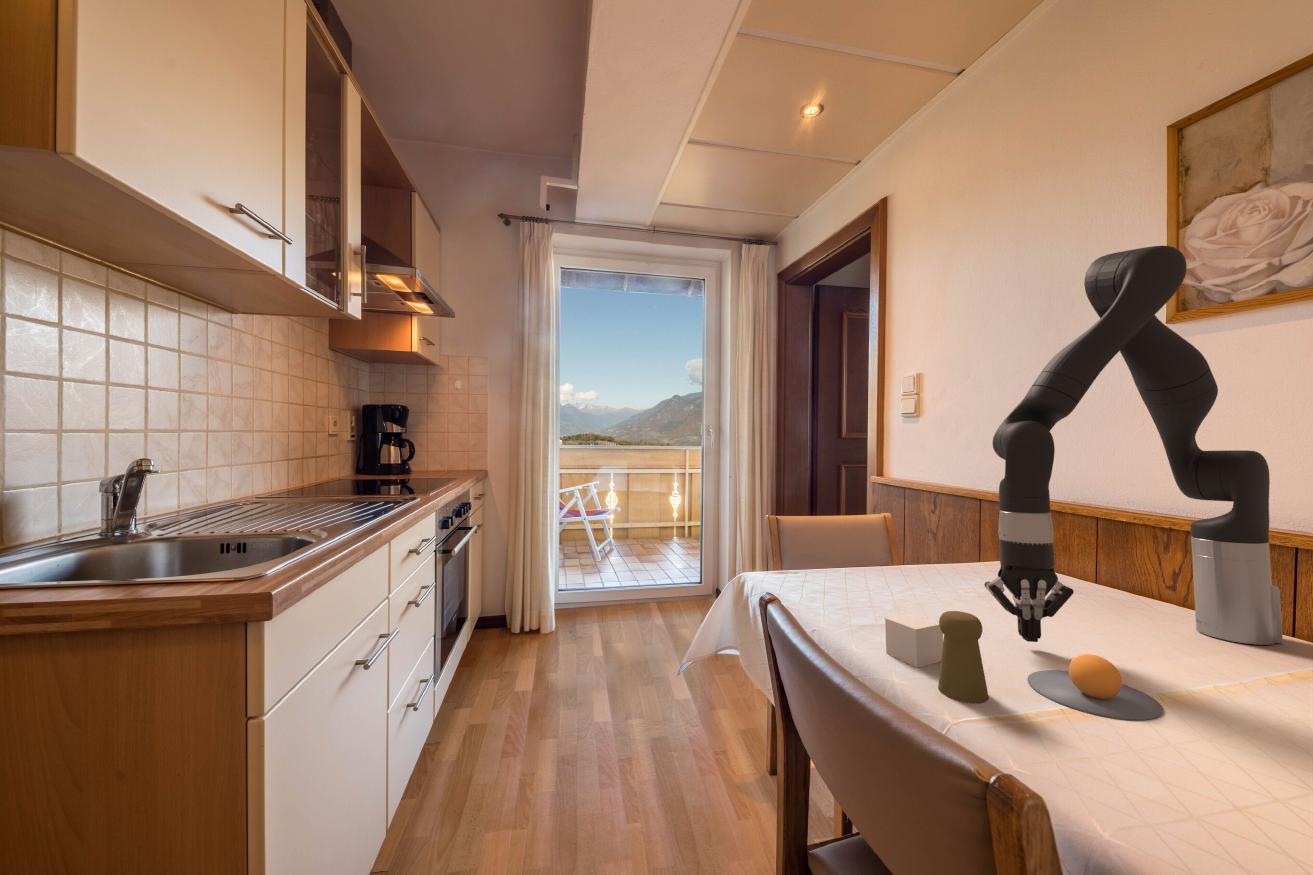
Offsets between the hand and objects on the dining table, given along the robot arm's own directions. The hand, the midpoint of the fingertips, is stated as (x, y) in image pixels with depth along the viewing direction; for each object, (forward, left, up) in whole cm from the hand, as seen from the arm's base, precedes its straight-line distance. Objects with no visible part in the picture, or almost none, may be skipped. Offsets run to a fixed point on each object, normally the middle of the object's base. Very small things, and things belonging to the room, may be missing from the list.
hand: (1030, 639), depth 84 cm
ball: (0, +17, +1) cm, 17 cm away
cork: (+17, +19, -2) cm, 26 cm away
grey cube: (+20, +7, -2) cm, 21 cm away
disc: (0, +16, -2) cm, 16 cm away
